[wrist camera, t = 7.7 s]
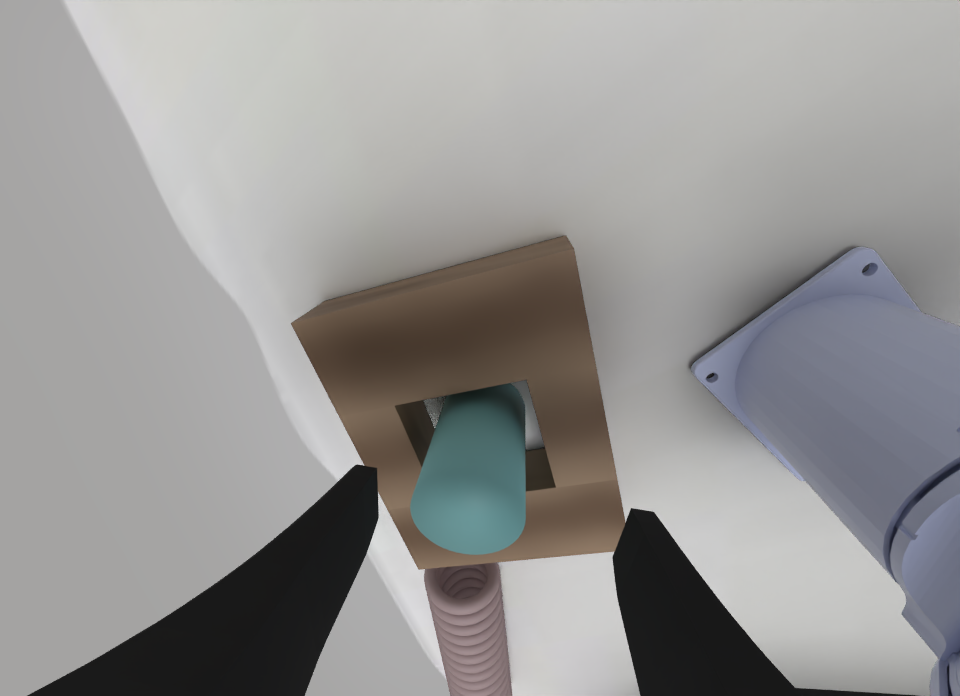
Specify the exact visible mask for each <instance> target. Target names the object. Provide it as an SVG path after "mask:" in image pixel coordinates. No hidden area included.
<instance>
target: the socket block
mask: <svg viewBox="0 0 960 696" xmlns="http://www.w3.org/2000/svg"><path fill="white" fill-rule="evenodd" d="M291 325H292V327H293V329H294V330H295V332H296V334H297V336H298V338H299V340H300V342H301V344H302V346H303V348H304V350H305V352H306V354H307V355H308V357H309V359H310V361H311V363H312V365H313V367H314V369H315V371H316V373H317V375H318V377H319V379H320V381H321V382H322V384H323V386H324V388H325V390H326V392H327V394H328V396H329V398H330V400H331V402H332V404H333V406H334V407H335V409H336V411H337V413H338V415H339V417H340V419H341V421H342V423H343V425H344V427H345V429H346V431H347V433H348V434H349V436H350V438H351V440H352V442H353V444H354V446H355V448H356V450H357V452H358V454H359V456H360V458H361V460H362V461H363V463H364V465H365V466H369V467H375V468H377V480H378V492H379V494H380V496H381V498H382V500H383V502H384V504H385V506H386V508H387V510H388V512H389V513H390V515H391V517H392V519H393V521H394V523H395V525H396V527H397V529H398V531H399V533H400V535H401V537H402V538H403V540H404V542H405V544H406V546H407V548H408V550H409V552H410V554H411V556H412V558H413V560H414V562H415V564H416V565H417V567H418V569H419V570H420V569H431V568H441V567H452V566H463V565H474V564H484V563H495V562H506V561H516V560H527V559H538V558H549V557H559V556H570V555H581V554H592V553H602V552H613V551H615V549H616V547H617V544H618V542H619V539H620V536H621V534H622V531H623V529H624V526H625V518H624V512H623V507H622V502H621V497H620V491H619V486H618V481H617V475H616V470H615V465H614V459H613V454H612V449H611V443H610V438H609V433H608V427H607V422H606V417H605V411H604V406H603V401H602V396H601V390H600V385H599V380H598V374H597V369H596V364H595V358H594V353H593V348H592V342H591V337H590V332H589V326H588V321H587V316H586V310H585V305H584V300H583V294H582V289H581V284H580V279H579V273H578V268H577V263H576V257H575V252H574V248H573V246H572V245H571V243H570V241H569V240H568V238H567V237H566V236H562V237H558V238H555V239H551V240H547V241H544V242H540V243H536V244H533V245H529V246H525V247H522V248H518V249H514V250H511V251H507V252H503V253H500V254H496V255H492V256H489V257H485V258H481V259H478V260H474V261H470V262H467V263H463V264H459V265H456V266H452V267H448V268H445V269H441V270H437V271H434V272H430V273H426V274H423V275H419V276H415V277H412V278H408V279H404V280H401V281H397V282H393V283H390V284H386V285H382V286H379V287H375V288H371V289H368V290H364V291H360V292H357V293H353V294H349V295H346V296H342V297H338V298H335V299H331V300H327V301H324V302H322V303H321V304H319V305H318V306H316V307H315V308H313V309H312V310H310V311H309V312H307V313H306V314H304V315H303V316H301V317H300V318H298V319H297V320H295V321H294V322H292V323H291ZM523 380H527V384H528V387H529V391H530V395H531V398H532V402H533V405H534V409H535V413H536V416H537V420H538V424H539V427H540V431H541V435H542V438H543V442H544V446H545V448H543V449H536V450H530V451H525V475H526V521H525V526H524V529H523V531H522V533H521V535H520V536H519V538H518V539H517V540H516V541H515V542H514V543H512V544H511V545H510V546H508V547H506V548H504V549H502V550H500V551H497V552H493V553H489V554H481V555H469V554H462V553H457V552H453V551H450V550H447V549H445V548H442V547H440V546H438V545H436V544H435V543H433V542H432V541H430V540H429V539H428V538H426V537H425V536H424V535H423V534H422V533H421V532H420V531H419V529H418V528H417V526H416V525H415V523H414V521H413V519H412V516H411V510H410V504H411V499H412V495H413V492H414V490H415V487H416V484H417V481H418V478H419V475H420V472H421V469H422V466H423V463H424V460H425V457H426V455H427V452H428V449H429V446H430V443H431V440H432V437H433V434H434V431H435V430H434V427H433V425H432V422H431V420H430V417H429V415H428V412H427V410H426V407H425V405H424V403H423V400H426V399H431V398H436V397H441V396H446V395H451V394H456V393H462V392H467V391H472V390H477V389H482V388H487V387H492V386H497V385H502V384H507V383H512V382H518V381H523Z"/></svg>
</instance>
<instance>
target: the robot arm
mask: <svg viewBox="0 0 960 696" xmlns="http://www.w3.org/2000/svg"><path fill="white" fill-rule="evenodd" d="M868 264H870V266H869V269H868V270H867V271H866V272H864V273H862V270H863V268H864V267H865V266H866V265H868ZM691 371H692V373H693V375H694V376H695V377H696V378H697V379H698V380H699V381H700V382H701V383H702V384H703V385H704V386H705V387H706V388H707V389H708V390H709V391H710V392H711V393H712V394H713V395H714V396H715V397H716V398H717V399H718V400H719V401H720V402H721V403H722V404H723V405H724V406H725V407H726V408H727V409H728V410H729V411H730V412H731V413H732V414H733V415H734V416H735V417H736V418H737V419H738V420H739V421H740V422H741V423H742V424H743V425H744V426H745V427H746V428H747V429H748V430H749V431H750V432H751V433H752V434H753V435H754V436H755V437H756V438H757V439H758V440H759V441H760V442H761V443H762V444H763V445H764V446H765V447H766V448H767V449H768V450H769V451H770V452H771V453H772V454H773V455H774V456H775V457H776V458H777V459H778V460H779V461H780V462H781V463H782V464H783V465H784V466H785V467H786V468H787V469H788V470H789V471H790V472H791V473H792V474H793V475H794V476H795V477H796V478H797V479H799V480H801V481H806V482H807V483H808V485H809V486H810V487H811V488H812V489H813V490H814V491H815V492H816V493H817V495H818V496H819V497H820V498H821V499H822V500H823V501H824V502H825V503H826V505H827V506H828V507H829V508H830V509H831V510H832V511H833V512H834V513H835V515H836V516H837V517H838V518H839V519H840V520H841V521H842V522H843V524H844V525H845V526H846V527H847V528H848V529H849V530H850V531H851V532H852V534H853V535H854V536H855V537H856V538H857V539H858V540H859V541H860V542H861V544H862V545H863V546H864V547H865V548H866V549H867V550H868V551H869V552H870V554H871V555H872V556H873V557H874V558H875V559H876V560H877V561H878V562H879V564H880V565H881V566H882V567H883V568H884V569H885V570H886V571H887V573H888V574H889V575H890V576H891V577H892V578H893V579H894V580H895V581H896V582H897V583H898V584H899V585H900V587H901V588H902V590H903V591H904V593H905V595H906V605H905V607H904V609H903V611H902V615H903V617H904V618H905V619H906V620H907V621H908V623H909V624H910V625H911V626H912V627H913V628H914V630H915V631H916V632H917V633H918V634H919V636H920V637H921V638H922V639H923V640H924V641H925V643H926V644H927V645H928V646H929V647H930V649H931V650H932V651H933V652H934V653H935V654H936V656H937V657H938V660H937V661H936V663H935V665H934V667H933V668H932V672H931V679H930V694H931V696H960V326H958V325H955V324H952V323H949V322H947V321H944V320H941V319H938V318H936V317H933V316H930V315H927V314H924V313H922V312H921V311H920V309H919V308H918V307H917V305H916V304H915V303H914V301H913V300H912V299H911V297H910V296H909V295H908V293H907V292H906V291H905V289H904V288H903V287H902V285H901V284H900V283H899V282H898V280H897V279H896V278H895V276H894V275H893V274H892V272H891V271H890V270H889V268H888V267H887V266H886V264H885V263H884V262H883V260H882V259H881V258H880V256H879V255H878V254H877V252H876V251H875V250H873V249H871V248H867V247H856V248H854V249H852V250H850V251H849V252H847V253H846V254H844V255H843V256H842V257H840V258H839V259H837V260H836V261H835V262H833V263H832V264H830V265H829V266H828V267H826V268H825V269H823V270H822V271H821V272H819V273H818V274H816V275H815V276H814V277H812V278H811V279H810V280H808V281H807V282H805V283H804V284H803V285H801V286H800V287H798V288H797V289H796V290H794V291H793V292H791V293H790V294H789V295H787V296H786V297H784V298H783V299H782V300H780V301H779V302H777V303H776V304H775V305H773V306H772V307H771V308H769V309H768V310H766V311H765V312H764V313H762V314H761V315H759V316H758V317H757V318H755V319H754V320H752V321H751V322H750V323H748V324H747V325H745V326H744V327H743V328H741V329H740V330H739V331H737V332H736V333H734V334H733V335H732V336H730V337H729V338H727V339H726V340H725V341H723V342H722V343H720V344H719V345H718V346H716V347H715V348H713V349H712V350H711V351H709V352H708V353H706V354H705V355H704V356H702V357H701V358H700V359H698V360H697V361H696V362H695V363H694V364H693V365H692V367H691ZM711 373H714V376H713V377H711V378H709V379H706V377H707V376H708V375H709V374H711ZM377 521H378V480H377V468H375V467H369V466H363V465H355V466H354V467H353V468H351V469H350V470H349V471H348V472H347V473H346V474H345V475H344V476H343V477H342V478H341V479H340V480H339V481H338V482H337V483H336V484H335V485H334V486H333V487H332V488H331V489H330V490H329V491H328V492H327V493H326V494H325V495H323V496H322V497H321V498H320V499H319V500H318V501H317V502H316V503H315V504H314V505H313V506H312V507H310V508H309V509H308V510H307V511H306V512H305V513H304V514H303V515H302V516H301V517H299V518H298V519H297V520H296V521H295V522H294V523H292V524H291V525H290V526H289V527H288V528H287V529H285V530H284V531H283V532H282V533H280V534H279V535H278V536H277V537H276V538H274V540H272V541H271V542H270V543H268V544H267V545H266V546H265V547H264V548H262V549H261V550H260V551H259V552H257V553H256V554H255V555H253V556H252V557H251V558H250V559H248V560H247V561H246V562H244V563H243V564H242V565H240V566H239V567H238V568H236V569H235V570H234V571H232V572H231V573H229V574H228V575H227V576H225V577H224V578H223V579H221V580H220V581H218V582H217V583H216V584H214V585H213V586H211V587H210V588H208V589H207V590H205V591H204V592H203V593H201V594H199V595H198V596H196V597H195V598H193V599H192V600H191V601H189V602H188V603H186V604H185V605H183V606H182V607H180V608H179V609H177V610H176V611H174V612H173V613H171V614H169V615H168V616H166V617H165V618H163V619H161V620H160V621H158V622H157V623H155V624H153V625H152V626H150V627H148V628H147V629H145V630H143V631H142V632H140V633H138V634H137V635H135V636H133V637H132V638H130V639H128V640H127V641H125V642H123V643H122V644H120V645H118V646H116V647H115V648H113V649H112V650H110V651H108V652H106V653H105V654H103V655H102V656H100V657H98V658H96V659H95V660H93V661H91V662H89V663H87V664H85V665H84V666H82V667H80V668H78V669H76V670H75V671H73V672H71V673H69V674H67V675H65V676H63V677H61V678H60V679H58V680H56V681H54V682H52V683H50V684H48V685H46V686H45V687H43V688H41V689H39V690H37V691H35V692H34V693H32V694H30V695H28V696H305V693H306V690H307V688H308V685H309V682H310V680H311V677H312V674H313V672H314V669H315V666H316V664H317V661H318V659H319V656H320V654H321V652H322V649H323V647H324V644H325V642H326V640H327V638H328V636H329V633H330V631H331V629H332V627H333V625H334V623H335V621H336V618H337V616H338V614H339V612H340V610H341V608H342V605H343V603H344V601H345V599H346V597H347V594H348V593H349V590H350V588H351V586H352V584H353V582H354V580H355V578H356V575H357V573H358V571H359V569H360V567H361V565H362V562H363V560H364V558H365V556H366V553H367V550H368V548H369V545H370V542H371V539H372V536H373V533H374V530H375V527H376V524H377ZM613 565H614V574H615V583H616V590H617V597H618V602H619V606H620V611H621V615H622V619H623V624H624V628H625V632H626V637H627V641H628V645H629V649H630V653H631V657H632V662H633V666H634V670H635V674H636V678H637V683H638V687H639V691H640V695H641V696H802V695H801V694H800V693H799V692H798V691H797V690H796V689H795V688H794V686H793V685H792V684H791V683H790V682H789V681H788V680H787V679H786V678H785V677H784V676H783V674H782V673H781V672H780V671H779V670H778V669H777V668H776V667H775V666H774V665H773V664H772V662H771V661H770V660H769V659H768V658H767V657H766V656H765V654H764V653H763V652H762V651H761V650H760V649H759V648H758V647H757V645H756V644H755V643H754V642H753V641H752V639H751V638H750V637H749V636H748V635H747V633H746V632H745V631H744V630H743V629H742V627H741V626H740V625H739V624H738V623H737V621H736V620H735V619H734V618H733V617H732V615H731V614H730V613H729V612H728V610H727V609H726V608H725V607H724V605H723V604H722V603H721V602H720V600H719V599H718V598H717V597H716V595H715V594H714V593H713V591H712V590H711V589H710V587H709V586H708V585H707V584H706V582H705V581H704V580H703V578H702V577H701V576H700V574H699V573H698V572H697V570H696V569H695V568H694V566H693V565H692V564H691V562H690V561H689V560H688V558H687V557H686V555H685V554H684V553H683V551H682V550H681V549H680V547H679V546H678V545H677V543H676V542H675V540H674V539H673V538H672V536H671V535H670V533H669V532H668V531H667V529H666V528H665V527H664V525H663V524H662V522H661V521H660V520H659V518H658V517H657V516H656V514H655V513H654V512H651V511H645V510H639V509H633V508H631V510H630V513H629V515H628V518H627V521H626V523H625V526H624V529H623V531H622V534H621V536H620V539H619V542H618V544H617V547H616V549H615V552H614V555H613Z"/></svg>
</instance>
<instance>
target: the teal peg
mask: <svg viewBox="0 0 960 696" xmlns="http://www.w3.org/2000/svg"><path fill="white" fill-rule="evenodd" d="M410 510H411V516H412V519H413V521H414V523H415V525H416V526H417V528H418V529H419V531H420V532H421V533H422V534H423V535H424V536H425V537H426V538H428V539H429V540H430V541H432V542H433V543H435V544H436V545H438V546H440V547H442V548H445V549H447V550H450V551H453V552H457V553H462V554H469V555H481V554H489V553H493V552H497V551H500V550H502V549H504V548H506V547H508V546H510V545H511V544H512V543H514V542H515V541H516V540H517V539H518V538H519V536H520V535H521V533H522V531H523V529H524V526H525V521H526V475H525V405H524V401H523V399H522V396H521V395H520V393H519V392H518V390H517V389H516V388H515V387H514V386H513V385H511V384H510V383H507V384H502V385H497V386H492V387H487V388H482V389H477V390H472V391H467V392H462V393H456V394H451V395H447V396H446V399H445V402H444V405H443V408H442V411H441V414H440V417H439V420H438V423H437V425H436V428H435V431H434V434H433V437H432V440H431V443H430V446H429V449H428V452H427V455H426V457H425V460H424V463H423V466H422V469H421V472H420V475H419V478H418V481H417V484H416V487H415V490H414V492H413V495H412V499H411V504H410Z"/></svg>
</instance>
